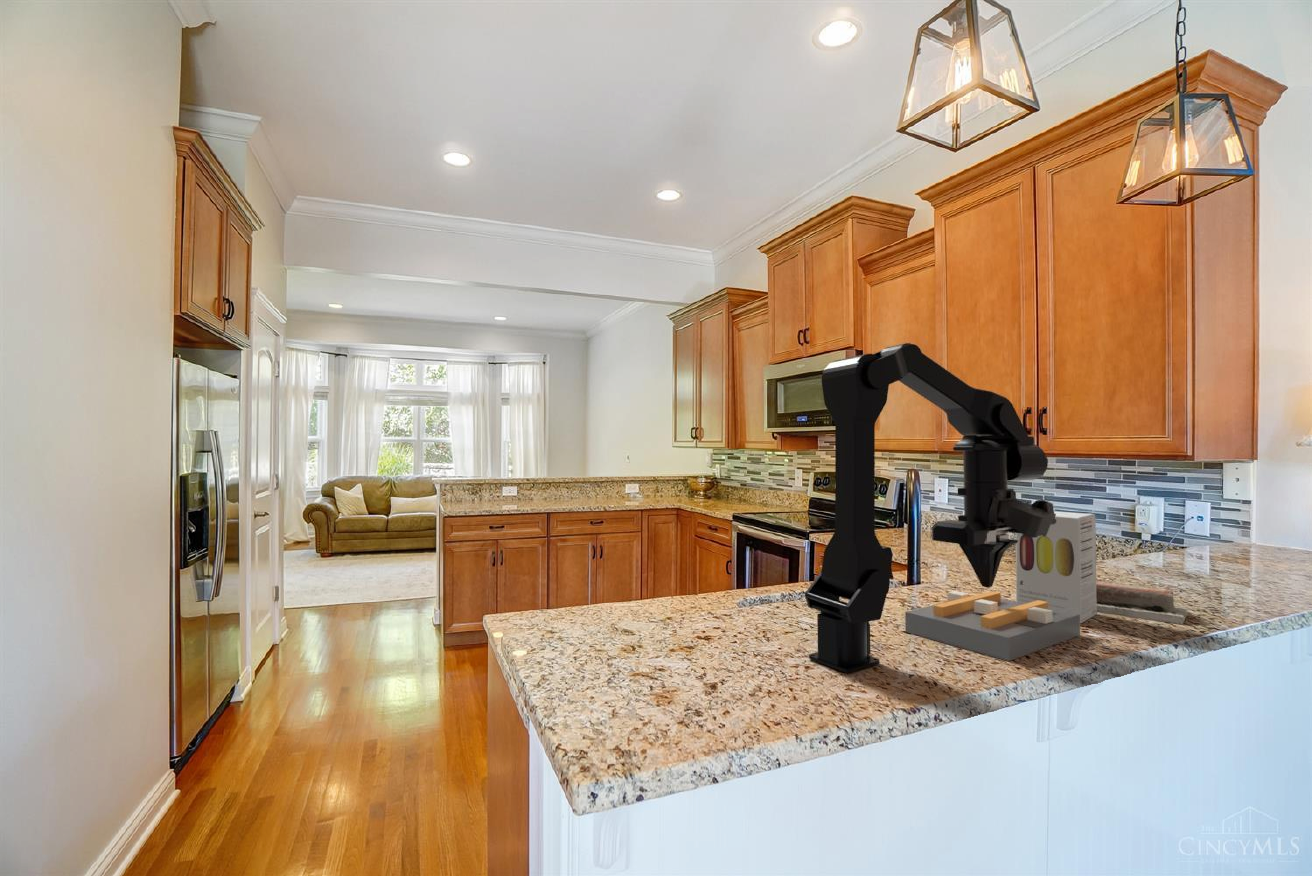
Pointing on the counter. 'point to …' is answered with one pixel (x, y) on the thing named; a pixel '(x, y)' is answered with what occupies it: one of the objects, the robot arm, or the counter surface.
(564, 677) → the counter surface
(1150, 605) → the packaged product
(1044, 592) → the supplement box
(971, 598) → the orange wooden bar
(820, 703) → the counter surface
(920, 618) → the breaker panel
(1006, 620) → the orange bar
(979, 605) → the block
